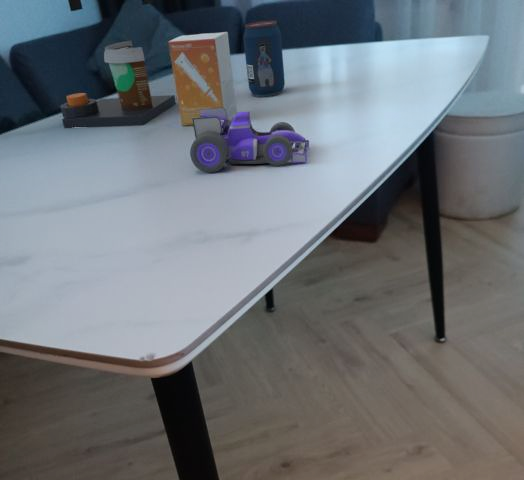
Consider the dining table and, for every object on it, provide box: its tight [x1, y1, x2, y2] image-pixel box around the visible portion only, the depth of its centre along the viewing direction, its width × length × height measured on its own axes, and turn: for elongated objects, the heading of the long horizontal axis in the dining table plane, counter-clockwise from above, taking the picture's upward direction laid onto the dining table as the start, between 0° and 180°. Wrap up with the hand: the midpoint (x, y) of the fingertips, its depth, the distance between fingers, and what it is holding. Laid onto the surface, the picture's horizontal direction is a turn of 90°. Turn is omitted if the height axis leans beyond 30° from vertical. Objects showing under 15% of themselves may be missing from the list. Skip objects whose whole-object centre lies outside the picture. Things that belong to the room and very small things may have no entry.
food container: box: [103, 40, 153, 110], centre depth 107 cm, size 12×6×10 cm, turn 20°
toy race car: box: [189, 108, 310, 174], centre depth 80 cm, size 10×15×6 cm, turn 83°
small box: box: [167, 31, 238, 127], centre depth 98 cm, size 8×6×13 cm
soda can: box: [243, 20, 286, 98], centre depth 112 cm, size 7×7×12 cm
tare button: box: [65, 92, 89, 106], centre depth 108 cm, size 4×4×2 cm
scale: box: [59, 94, 177, 129], centre depth 111 cm, size 17×15×4 cm
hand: (111, 7), depth 101 cm, fingers open, 13 cm apart
